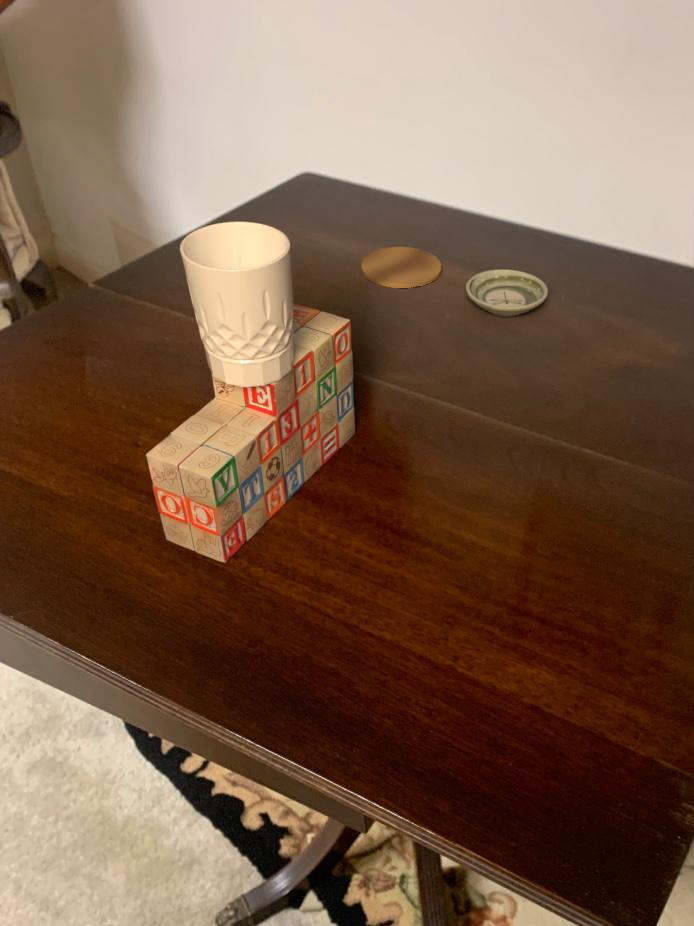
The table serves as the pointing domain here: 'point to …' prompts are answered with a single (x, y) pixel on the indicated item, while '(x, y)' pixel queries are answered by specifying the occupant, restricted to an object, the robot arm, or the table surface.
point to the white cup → (242, 300)
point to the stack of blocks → (256, 442)
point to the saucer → (506, 291)
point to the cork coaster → (401, 267)
